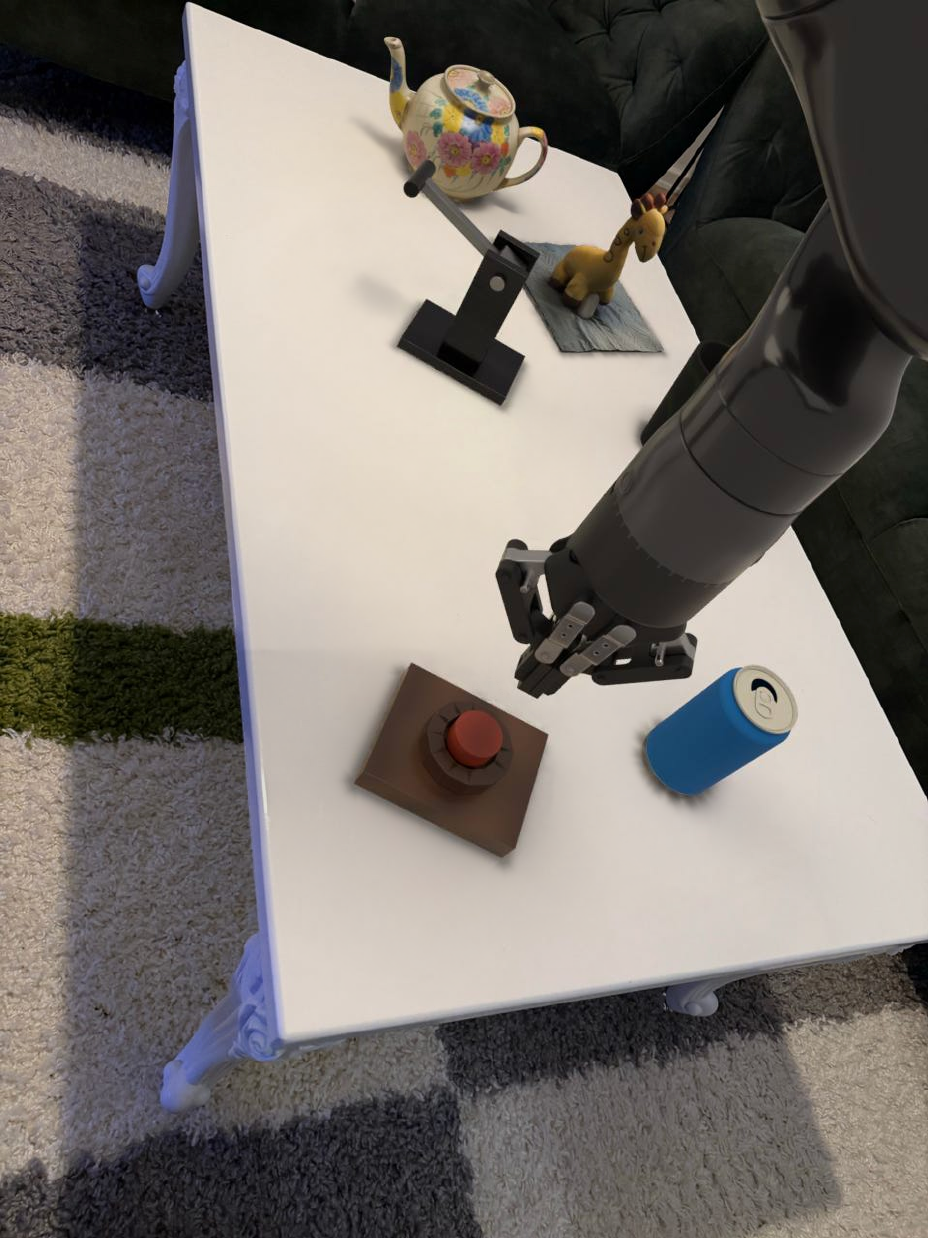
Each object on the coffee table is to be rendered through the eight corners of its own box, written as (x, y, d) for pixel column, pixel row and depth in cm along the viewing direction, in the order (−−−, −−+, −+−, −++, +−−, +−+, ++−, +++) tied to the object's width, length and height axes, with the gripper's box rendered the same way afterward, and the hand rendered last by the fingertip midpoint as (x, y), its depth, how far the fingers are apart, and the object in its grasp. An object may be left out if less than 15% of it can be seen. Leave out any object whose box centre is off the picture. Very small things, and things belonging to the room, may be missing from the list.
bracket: (396, 346, 88) (443, 238, 79) (422, 306, 94) (469, 200, 84) (500, 406, 90) (559, 307, 80) (520, 364, 95) (578, 266, 85)
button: (439, 752, 61) (448, 742, 60) (455, 712, 64) (464, 701, 62) (484, 775, 62) (494, 766, 61) (498, 734, 64) (508, 724, 63)
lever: (396, 192, 78) (412, 173, 77) (415, 170, 82) (430, 151, 80) (500, 300, 83) (517, 284, 81) (514, 275, 86) (531, 259, 85)
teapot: (497, 163, 116) (543, 62, 106) (522, 230, 110) (574, 129, 100) (352, 122, 107) (387, 8, 97) (370, 192, 101) (410, 78, 91)
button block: (353, 783, 62) (371, 761, 59) (401, 675, 68) (419, 650, 65) (502, 858, 63) (527, 840, 60) (536, 745, 70) (560, 724, 67)
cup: (627, 413, 98) (690, 330, 89) (684, 429, 101) (751, 351, 92) (638, 465, 94) (706, 383, 85) (697, 480, 97) (769, 403, 87)
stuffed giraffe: (561, 350, 99) (639, 226, 87) (493, 245, 106) (557, 117, 94) (660, 354, 108) (743, 242, 96) (591, 256, 115) (661, 141, 103)
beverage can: (709, 745, 77) (803, 681, 68) (703, 811, 73) (802, 752, 64) (645, 715, 76) (732, 646, 67) (636, 779, 72) (727, 715, 63)
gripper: (806, 530, 46) (629, 685, 59) (585, 402, 44) (455, 591, 57) (798, 636, 41) (607, 779, 54) (550, 497, 39) (417, 679, 52)
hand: (529, 682), depth 56 cm, fingers closed
